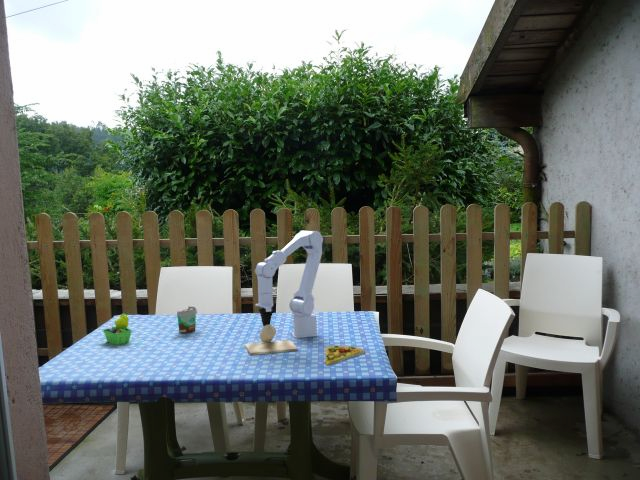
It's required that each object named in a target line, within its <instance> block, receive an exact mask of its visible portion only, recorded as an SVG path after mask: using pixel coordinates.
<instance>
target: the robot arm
mask: <svg viewBox="0 0 640 480" xmlns="http://www.w3.org/2000/svg"><path fill="white" fill-rule="evenodd" d="M323 242H324V237H323V236H322V234H321V232H320V231H318V230H306V229H305V230H300V231H299V232H298V233H296V234H295V236H294V237H293V238H292V240H291V241H289V243H287V244H286V245H285V246H284V247H283V248H282V249H281V250H279V249H277V250H273V251H272V252H271V253H272V254H271V255H269V256H268V257H267V258H264V259H263V260H264V261H261V262H258V263H257V264H256V267H255V268H254V274H255V275H256V276H257V294H258V295H257V296H258V297H257V299H258V303H255V305H254V306H255V307H260V308H257V309H258V312H259V314H260V317H261V323H262V327H264V326H265V325H271V320H272V318H273V317H272V316H273V314H274V312H275V311H274V309H273V306H274V293H273V290H274V289H273V286H274V285H273V277H274V276H275V274H276V271H277V270H278V269H279V268H280V267H281V266H282V265H283V264H284V263H285V262H287V257H288V256H290V255H291V254H292V253H294V252H295V251H297V250H298V249H299V248H300V247H301V248H303V249H304V250H306V252H307V254H308V255H307V258H306V262H305V266H304V269H303V273H302V277H301V281H300V284H299V287H298V290H297V291H296V292H295V293H294V294H293V297H292V298H291V299H290V302H289V309H290V311H291V312H292V315H293V317H292V319H293V322H292V323H293V332H291V335H292V337H294V338H295V339H298V338H299V339H301V338H302V339H303V338H311V337H312V338H313V337H318V332H317V331H318V329H317V327H318V326H317V316H316V313H313V311H314V310H315V305H314V304H315V297H314V295H313V293H312V292H313V290H314V284H315V282H316V281H315V280H316V278H317V274H318V271H319V267H320V263H321V258H322V255H323Z"/></svg>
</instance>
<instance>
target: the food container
mask: <svg viewBox="0 0 640 480" xmlns="http://www.w3.org/2000/svg"><path fill="white" fill-rule="evenodd" d="M197 314H198V309H197V308H196V307H195V306H190V305H189V306H188V308H187V309H183V310H181V311H177V313H176V317H177V323H178V334H179V335H182V334H183V335H185V334H190V333H191V334H192V333H194V332H196V325H197V324H196V323H197V322H196V319H197Z"/></svg>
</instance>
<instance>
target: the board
mask: <svg viewBox="0 0 640 480" xmlns="http://www.w3.org/2000/svg"><path fill="white" fill-rule="evenodd" d="M244 346H245V348H246V350H247V352H248V355H249V356H255V355H256V356H257V355H264V354H265V355H266V354H267V355H268V354H275V353H285V352H286V353H287V352H295V351H296V352H297V351H298V347H297V346H296V345H295V344H294V342H292V340H291V339H288V340H287V339H285V340H274V341H273V340H272V341H271V342H262V341H261V342H252V343H245V345H244Z"/></svg>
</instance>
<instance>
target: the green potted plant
mask: <svg viewBox="0 0 640 480" xmlns="http://www.w3.org/2000/svg"><path fill="white" fill-rule="evenodd" d="M129 320H130V317H129V316H128V314H126V313H121V314H120V316H119V317H118V318H116V320H114V324H115V326H111V328H106V329H103V330H102V332H103V334H104V335H105V336H104V337H105V339H106V342H107V343H111V344H114V345H117V346H118V345H122V344H126V343H130V338H131V334H132V331H133V330H132V329H130V328H128V327H129V323H130V322H129Z"/></svg>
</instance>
